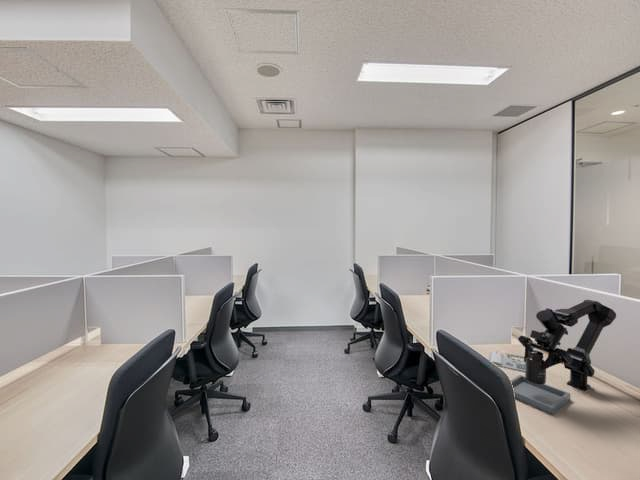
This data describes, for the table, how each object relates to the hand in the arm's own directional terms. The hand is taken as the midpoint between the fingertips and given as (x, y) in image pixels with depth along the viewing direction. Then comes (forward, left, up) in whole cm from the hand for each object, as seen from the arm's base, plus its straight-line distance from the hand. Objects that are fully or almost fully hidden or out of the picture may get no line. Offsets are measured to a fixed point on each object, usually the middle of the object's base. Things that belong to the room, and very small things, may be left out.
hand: (533, 365), depth 118 cm
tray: (-1, 0, -13) cm, 13 cm away
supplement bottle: (-1, 0, -7) cm, 7 cm away
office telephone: (-28, -19, -14) cm, 37 cm away
